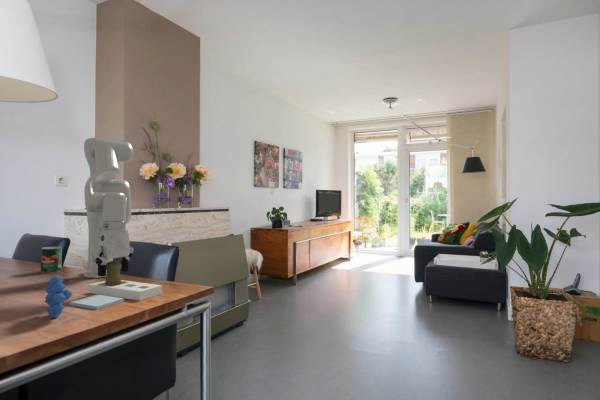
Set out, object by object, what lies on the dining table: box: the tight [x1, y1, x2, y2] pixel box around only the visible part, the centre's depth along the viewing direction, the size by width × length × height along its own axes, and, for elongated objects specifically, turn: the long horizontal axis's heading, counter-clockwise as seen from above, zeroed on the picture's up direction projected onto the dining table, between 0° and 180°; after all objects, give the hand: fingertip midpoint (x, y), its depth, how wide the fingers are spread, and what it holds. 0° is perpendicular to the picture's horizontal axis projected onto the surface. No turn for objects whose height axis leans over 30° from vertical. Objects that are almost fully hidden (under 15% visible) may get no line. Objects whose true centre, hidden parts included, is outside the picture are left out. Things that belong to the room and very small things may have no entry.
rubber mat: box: [69, 294, 125, 311], centre depth 118 cm, size 12×10×1 cm
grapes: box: [44, 275, 73, 319], centre depth 104 cm, size 12×7×12 cm, turn 45°
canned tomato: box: [40, 245, 63, 274], centre depth 166 cm, size 8×8×11 cm
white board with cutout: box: [88, 279, 163, 301], centre depth 130 cm, size 24×10×3 cm, turn 68°
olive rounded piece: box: [104, 260, 122, 286], centre depth 133 cm, size 6×6×11 cm
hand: (113, 273), depth 132 cm, fingers open, 9 cm apart
